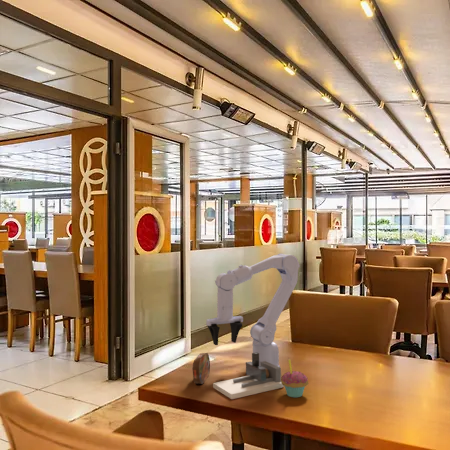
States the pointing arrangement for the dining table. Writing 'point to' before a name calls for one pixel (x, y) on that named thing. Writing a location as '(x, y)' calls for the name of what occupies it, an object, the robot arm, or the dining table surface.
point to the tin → (201, 368)
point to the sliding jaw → (256, 368)
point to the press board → (250, 383)
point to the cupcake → (294, 382)
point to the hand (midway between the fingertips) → (224, 343)
